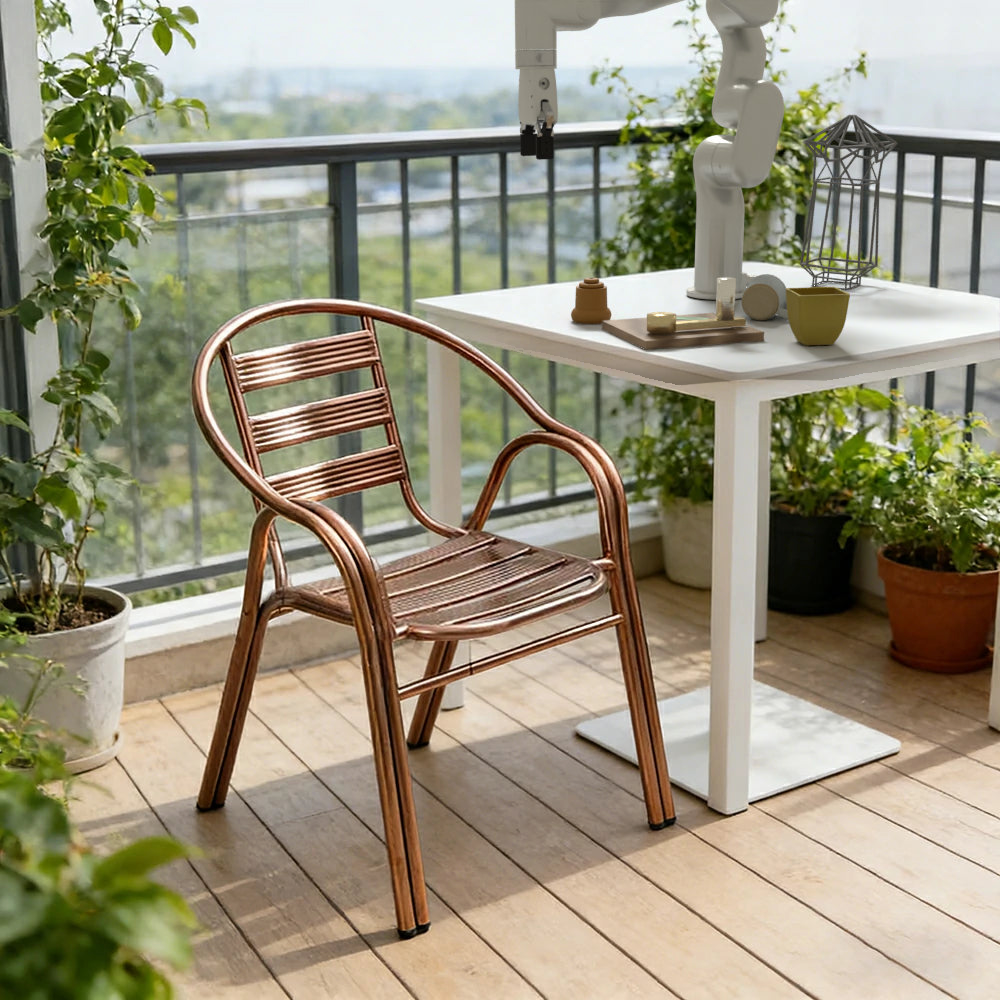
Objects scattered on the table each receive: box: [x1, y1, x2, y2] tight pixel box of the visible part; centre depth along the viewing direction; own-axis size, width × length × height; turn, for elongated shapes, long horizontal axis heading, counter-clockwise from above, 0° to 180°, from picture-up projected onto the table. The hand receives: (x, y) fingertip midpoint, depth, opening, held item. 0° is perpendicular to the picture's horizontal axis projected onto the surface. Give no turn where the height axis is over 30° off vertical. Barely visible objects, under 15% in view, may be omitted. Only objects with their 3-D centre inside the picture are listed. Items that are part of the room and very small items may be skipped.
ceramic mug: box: [741, 273, 788, 321], centre depth 262 cm, size 11×8×8 cm
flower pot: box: [786, 286, 851, 347], centre depth 240 cm, size 9×9×9 cm
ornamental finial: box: [570, 277, 612, 325], centre depth 262 cm, size 8×8×8 cm
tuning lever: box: [646, 277, 747, 334], centre depth 243 cm, size 18×5×8 cm, turn 107°
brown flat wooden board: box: [601, 312, 765, 350], centre depth 249 cm, size 22×20×2 cm
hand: (536, 157), depth 262 cm, fingers open, 9 cm apart
